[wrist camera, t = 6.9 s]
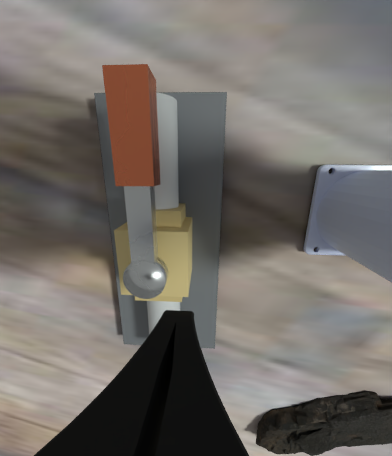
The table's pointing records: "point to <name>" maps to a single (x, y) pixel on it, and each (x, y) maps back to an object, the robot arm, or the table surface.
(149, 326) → the valve stand
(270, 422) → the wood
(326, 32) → the table surface
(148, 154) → the valve lever
